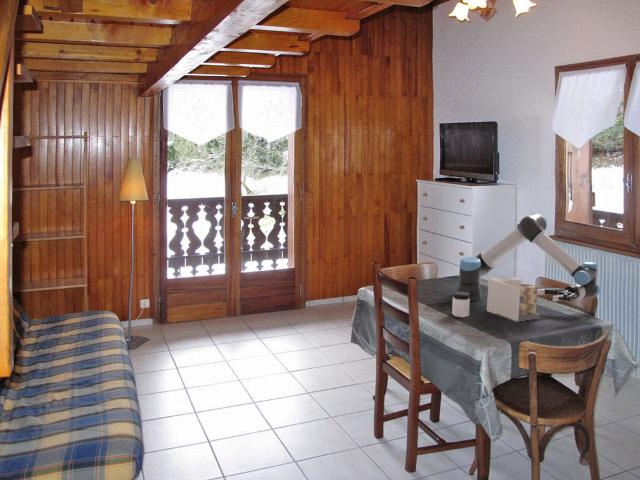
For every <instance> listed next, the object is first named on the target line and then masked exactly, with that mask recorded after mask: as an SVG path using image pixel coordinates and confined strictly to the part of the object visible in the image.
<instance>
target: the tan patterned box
mask: <svg viewBox="0 0 640 480" xmlns="http://www.w3.org/2000/svg"><path fill="white" fill-rule="evenodd" d="M519 288H520V297H522V296H523V297H524V303H519V310H523V315H530V314H537V300H538V295H537V290H539V288H538V286H535V285H526V286H521V287H519Z"/></svg>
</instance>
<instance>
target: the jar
mask: <svg viewBox="0 0 640 480" xmlns="http://www.w3.org/2000/svg"><path fill="white" fill-rule="evenodd" d="M470 303H471V302H470V299H469V293H467V292H461V291H458V292H456V291H455V292H453V296H452V305H451V306H452V308H451V310H452V311H451V314H452V315H453V316H454V317H456V318H457V317H458V318H467V317H469V316H470Z"/></svg>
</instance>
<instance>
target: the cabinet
mask: <svg viewBox="0 0 640 480" xmlns="http://www.w3.org/2000/svg"><path fill="white" fill-rule="evenodd" d="M519 287H522V278H519V277H514V276H503V277H502V276H501V277H492V278H488V285H487V300H486V301H487V303H486V306H487V307H486V312H489V313H491V314H493V315H496V316H498V317H501V318H504V319H506V320H508V321H512V322H514V323H521V322H520V321H522V322H527V321H526V320H529V321H533V320H532V319H537V318H539V319H540V313H536V314H530V315H523V310H519V303H524V297H523V296H522V297H520V288H519ZM537 320H538V319H537Z"/></svg>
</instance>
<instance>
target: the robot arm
mask: <svg viewBox="0 0 640 480" xmlns="http://www.w3.org/2000/svg"><path fill="white" fill-rule="evenodd" d="M547 227H548V221H547V219H546V218H545V217H544V216H543V215H542V214H539V213H532V214H530V215H527V216H524V217H523V218H521V220H520V221H519V223H518V224H516V229H514V230H513V231H512V232H510V233H509V234H508V235H506V236H504V238H503V239H501V240H500V241H499V242H497V243H496V244H494V245H493V246H492V247H491V248H489V249H488V250H487V251H481V252H480V253H479V254H477V255H476V256H468V257H463V258H461V260H460V262H459V280H458V281H459V282H458V286H457V289H456V291H455V292H458V291H461V292H467V293H469V299H470V301H471V302H472V301H473V302H475V301H480V300H482V297H483V295H482V290H481V286H480V281H481V279H480V278H481V277H483V276H486V275H488V274H489V273H490V272H491V270H493V269H494V268H495V267H496V264H497V263H498V262H499V261H501V259H503V258H505V257H506V256H508V254H510V253H512V252H513V251H515V250H516V249H517V248H518V247H520V246H521V245H522V244H523V243H525V242H527V241H528V242H530V243H531V244H535V245H536V246H537V247H539V248H540V250H542V251H543V252H544V253H545V254H546V255H548V257H549V258H551V259H552V260H553V261H554V262H555V263H556V264H557V265H558V266H560V267H561V268H562V269H563V270H564V271H566V272H567V273H568V274H569V275H570V276H571V277H572V278H573V280H574V282H575V284H573V285H567V286H565V287H564V288H559V287H556V288H555V287H541V289H537V296H544V295H553V296H552V302H559V301H560V302H561V301H567V302H570V301H573V300H580V299H588V298H595V297H597V296H599V295H600V292H601V289H600V285H599V284H597V273H598V264H597V263H596V262H593V261H592V262H591V261H584V262H582V264H581V263H579V262H578V261H577V260H576V259H575V258H573V257H572V256H571V255H570V254H569V252H567V251H566V250H565V249H564V248H562V247H561V246H560V245H559V244H557V243H556V242H555V241H554V240H553V239H552V238H551V237H550V236H549V235H547V234H546V229H547ZM595 295H596V296H595Z"/></svg>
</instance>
